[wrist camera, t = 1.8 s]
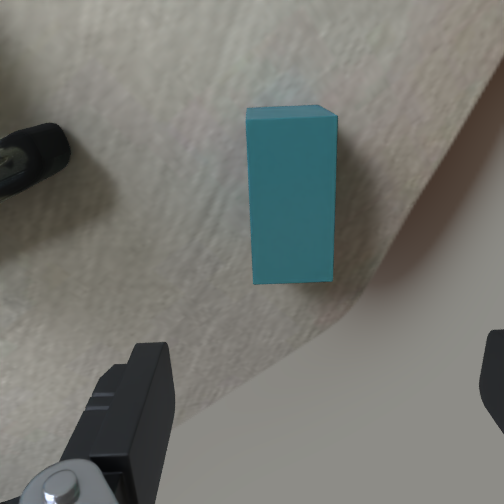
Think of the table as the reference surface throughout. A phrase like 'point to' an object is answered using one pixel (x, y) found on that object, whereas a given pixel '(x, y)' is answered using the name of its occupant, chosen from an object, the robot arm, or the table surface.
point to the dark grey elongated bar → (31, 157)
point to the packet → (292, 192)
